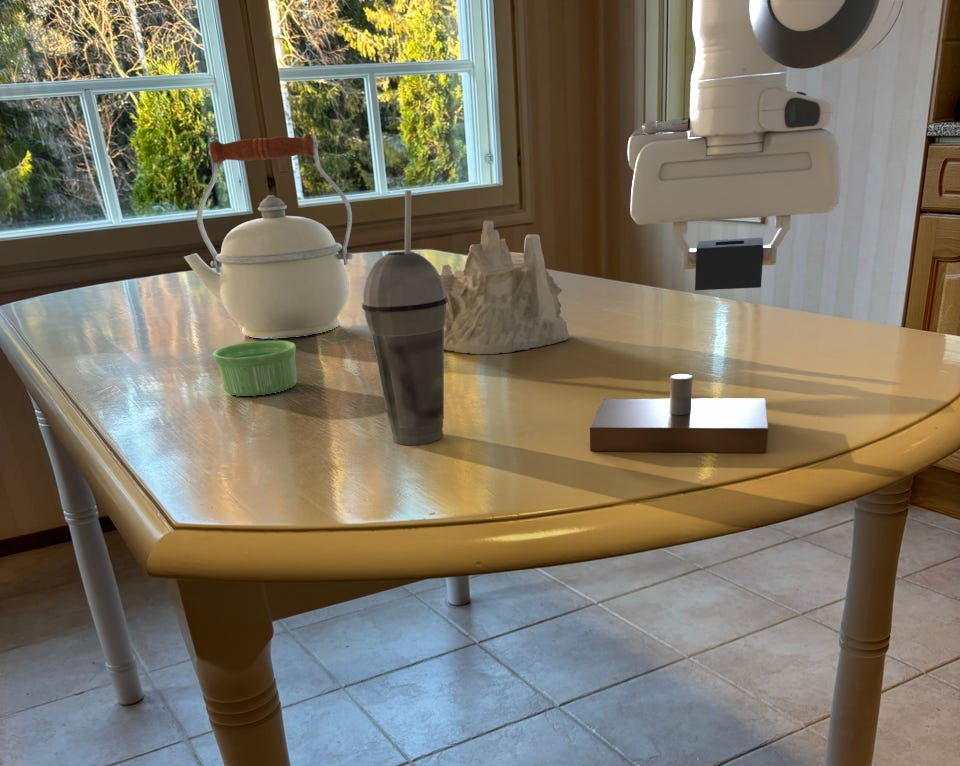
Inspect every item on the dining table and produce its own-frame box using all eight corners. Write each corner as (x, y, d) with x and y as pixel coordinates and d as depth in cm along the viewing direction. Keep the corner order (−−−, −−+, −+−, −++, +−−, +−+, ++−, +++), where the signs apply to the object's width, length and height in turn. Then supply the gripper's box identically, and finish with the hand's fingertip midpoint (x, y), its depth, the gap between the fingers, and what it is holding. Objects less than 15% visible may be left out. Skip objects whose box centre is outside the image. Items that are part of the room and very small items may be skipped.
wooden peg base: (763, 421, 81) (768, 362, 78) (766, 453, 73) (771, 389, 71) (603, 420, 84) (603, 364, 82) (589, 451, 77) (589, 390, 74)
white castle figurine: (584, 338, 116) (574, 206, 109) (466, 364, 110) (448, 227, 104) (527, 329, 129) (514, 211, 122) (418, 351, 123) (399, 229, 117)
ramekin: (315, 379, 106) (310, 340, 104) (275, 400, 99) (268, 358, 97) (249, 378, 109) (242, 339, 107) (204, 397, 102) (196, 357, 100)
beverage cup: (368, 433, 85) (338, 194, 76) (443, 421, 87) (423, 186, 78) (390, 454, 79) (360, 197, 70) (469, 441, 81) (451, 188, 72)
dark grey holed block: (759, 278, 99) (762, 237, 97) (761, 287, 93) (763, 244, 91) (697, 280, 100) (698, 241, 98) (694, 290, 95) (696, 248, 93)
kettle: (377, 315, 142) (356, 131, 130) (350, 339, 127) (323, 131, 115) (221, 323, 146) (187, 144, 134) (176, 347, 130) (132, 146, 118)
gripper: (624, 123, 89) (625, 276, 96) (850, 103, 84) (834, 265, 91) (631, 123, 95) (631, 267, 101) (844, 104, 90) (829, 257, 96)
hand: (729, 266), depth 96 cm, fingers closed on dark grey holed block, 6 cm apart
